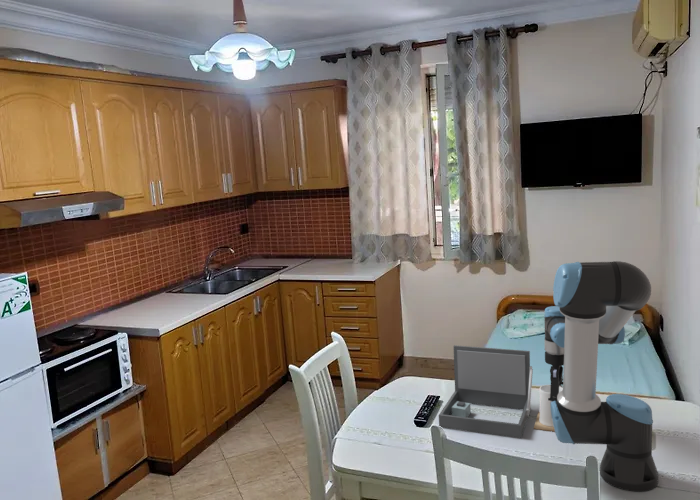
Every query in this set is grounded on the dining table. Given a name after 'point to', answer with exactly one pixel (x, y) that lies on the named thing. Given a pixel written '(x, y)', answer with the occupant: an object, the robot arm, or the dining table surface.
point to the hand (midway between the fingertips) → (556, 410)
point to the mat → (542, 427)
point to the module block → (461, 409)
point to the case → (490, 388)
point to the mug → (546, 405)
